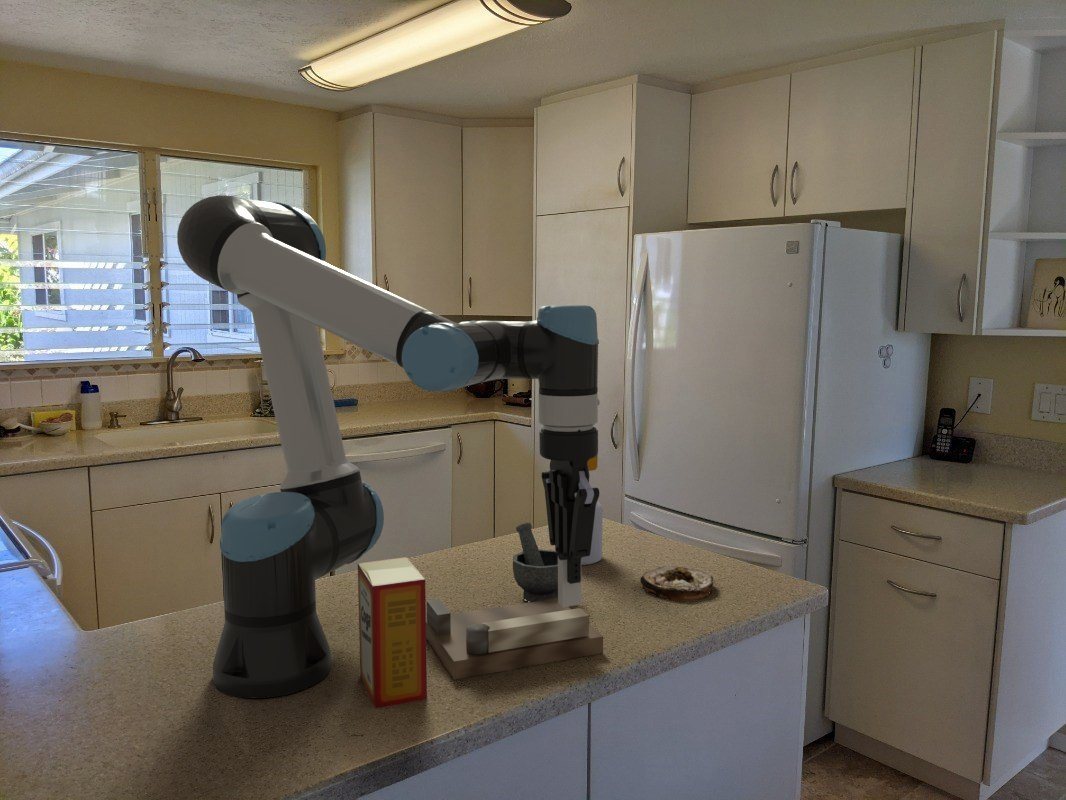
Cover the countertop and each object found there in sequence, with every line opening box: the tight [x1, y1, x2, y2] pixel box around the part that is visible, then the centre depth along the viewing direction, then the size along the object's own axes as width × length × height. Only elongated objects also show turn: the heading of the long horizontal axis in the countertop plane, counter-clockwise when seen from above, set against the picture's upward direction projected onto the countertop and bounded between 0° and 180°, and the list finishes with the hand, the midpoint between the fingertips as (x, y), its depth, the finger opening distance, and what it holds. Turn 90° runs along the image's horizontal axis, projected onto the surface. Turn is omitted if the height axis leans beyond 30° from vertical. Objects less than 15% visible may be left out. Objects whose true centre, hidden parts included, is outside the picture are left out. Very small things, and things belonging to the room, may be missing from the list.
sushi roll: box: [640, 565, 714, 602], centre depth 144 cm, size 15×15×4 cm
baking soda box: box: [357, 556, 428, 709], centre depth 107 cm, size 10×6×16 cm
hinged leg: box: [466, 607, 590, 654], centre depth 115 cm, size 18×3×3 cm, turn 112°
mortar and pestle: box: [512, 522, 558, 602], centre depth 139 cm, size 11×9×12 cm
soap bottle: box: [581, 453, 604, 566], centre depth 159 cm, size 9×9×25 cm
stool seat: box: [426, 598, 604, 680], centre depth 121 cm, size 22×16×6 cm
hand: (569, 603), depth 109 cm, fingers closed
